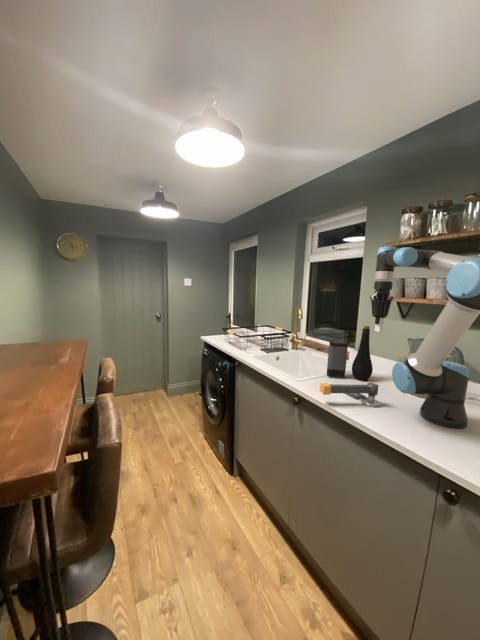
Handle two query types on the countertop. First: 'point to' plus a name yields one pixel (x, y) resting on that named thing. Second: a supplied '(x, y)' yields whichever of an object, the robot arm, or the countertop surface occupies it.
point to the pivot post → (370, 401)
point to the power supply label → (356, 395)
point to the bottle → (363, 358)
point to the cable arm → (348, 388)
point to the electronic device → (337, 359)
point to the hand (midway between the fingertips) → (378, 331)
